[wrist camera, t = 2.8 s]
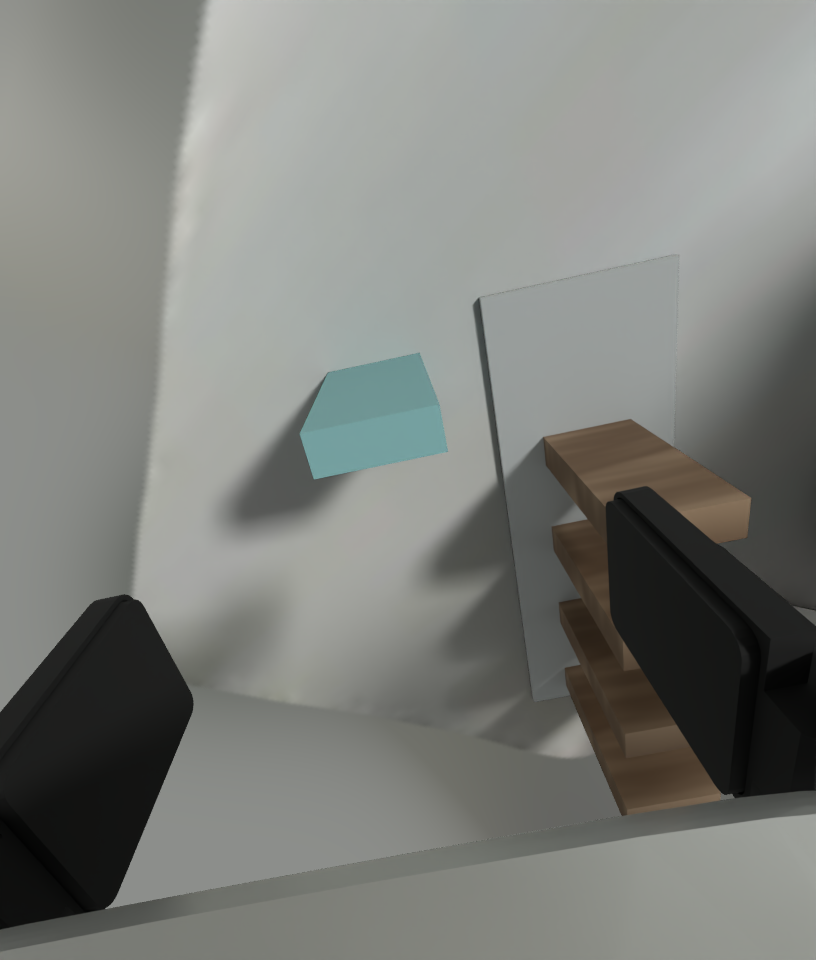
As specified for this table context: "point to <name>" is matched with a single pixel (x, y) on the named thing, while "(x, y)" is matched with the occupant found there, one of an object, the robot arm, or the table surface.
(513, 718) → the table surface
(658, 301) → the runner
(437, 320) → the table surface
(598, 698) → the tile
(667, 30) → the table surface
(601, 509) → the tile
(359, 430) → the tile
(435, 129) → the table surface
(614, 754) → the tile
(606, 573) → the tile
